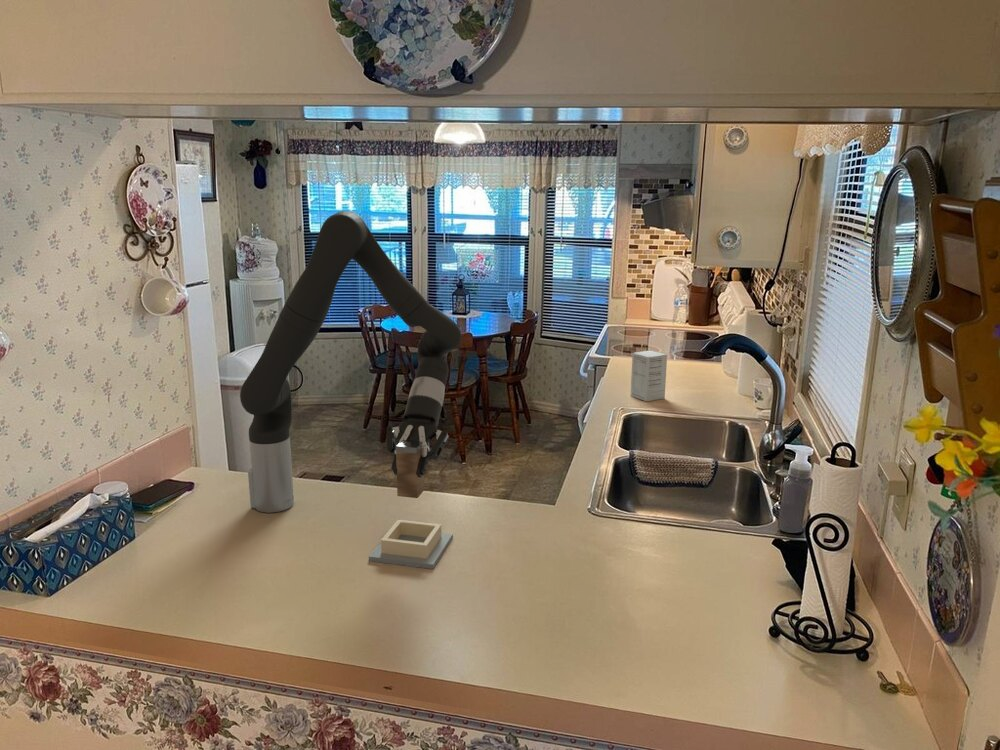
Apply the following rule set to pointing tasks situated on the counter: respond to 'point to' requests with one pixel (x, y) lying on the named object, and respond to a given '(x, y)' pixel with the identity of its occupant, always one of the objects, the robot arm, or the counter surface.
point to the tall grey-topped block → (409, 469)
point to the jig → (412, 544)
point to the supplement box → (648, 375)
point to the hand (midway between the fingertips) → (407, 474)
